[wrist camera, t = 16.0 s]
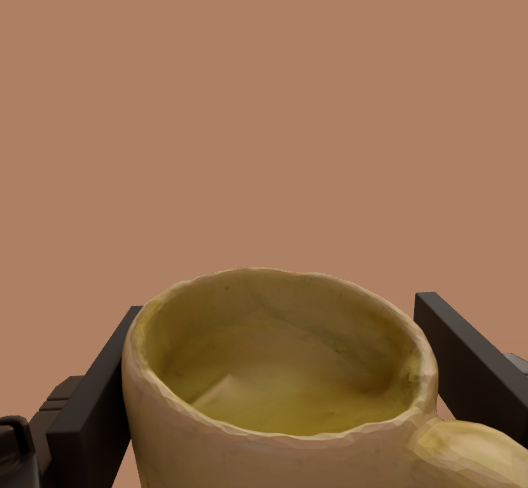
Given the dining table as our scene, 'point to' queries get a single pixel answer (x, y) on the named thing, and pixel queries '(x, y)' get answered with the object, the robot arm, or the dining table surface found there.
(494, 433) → the mug
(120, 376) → the robot arm
